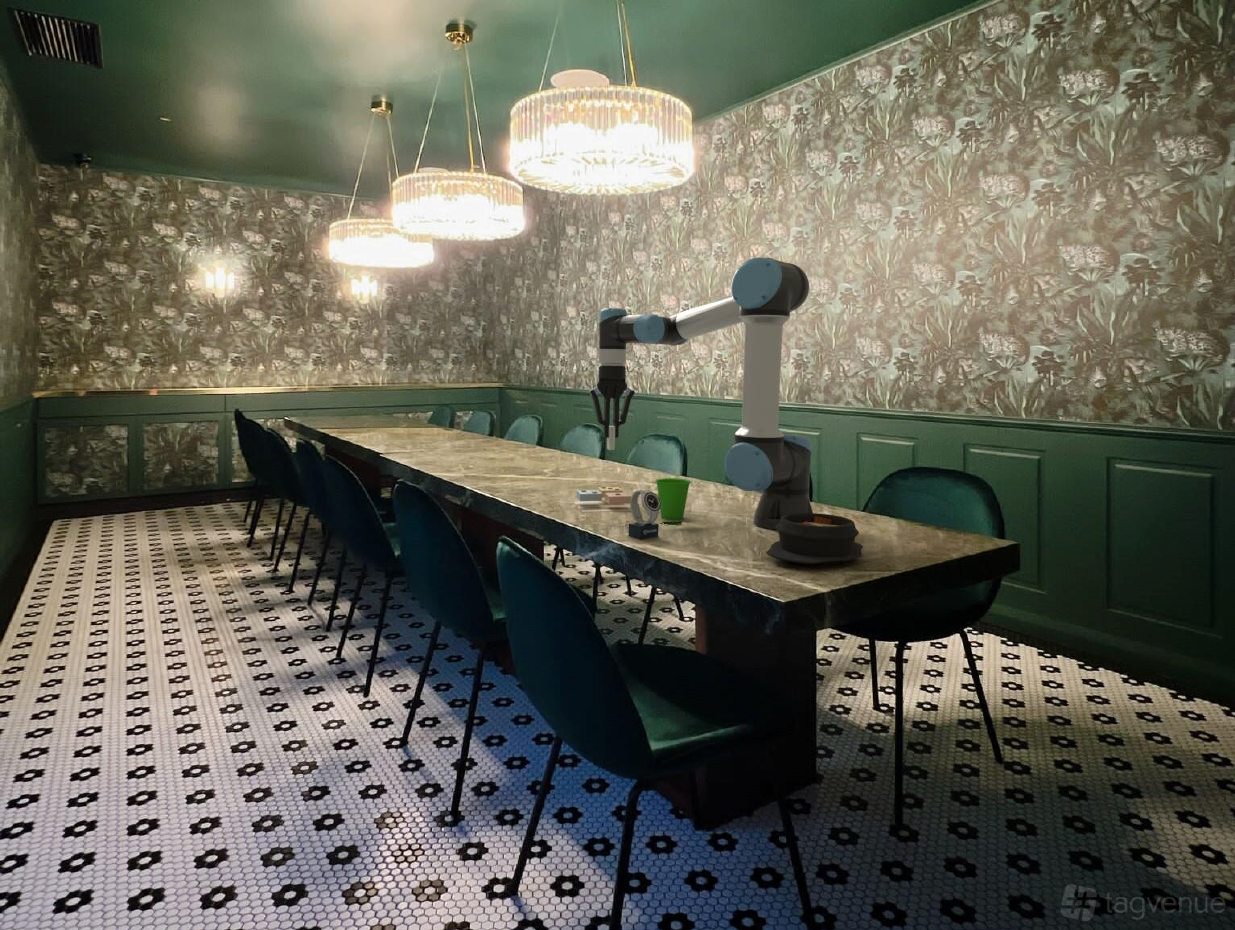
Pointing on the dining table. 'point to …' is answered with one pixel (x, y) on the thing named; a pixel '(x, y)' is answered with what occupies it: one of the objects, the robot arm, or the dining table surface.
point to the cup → (672, 498)
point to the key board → (600, 506)
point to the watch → (641, 527)
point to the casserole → (816, 539)
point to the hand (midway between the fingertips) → (610, 449)
